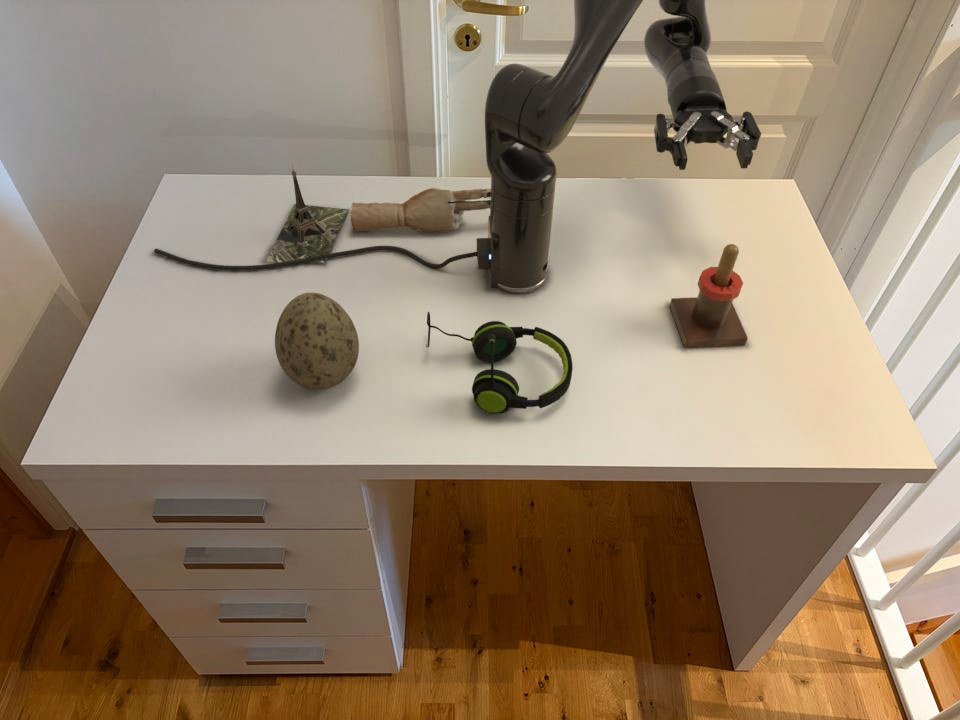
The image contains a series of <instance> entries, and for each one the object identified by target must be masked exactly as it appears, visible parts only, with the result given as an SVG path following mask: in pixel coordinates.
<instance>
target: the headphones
mask: <svg viewBox="0 0 960 720" xmlns="http://www.w3.org/2000/svg"><path fill="white" fill-rule="evenodd" d="M426 314H427V315H426V325H427V327H428V329H427V331H428V332H427V344H425V347H426V348H429V347H430V343H431V328H432V329H436V330H438V331H439V332H440V333H442V334H444V335H446V336H448V337H457V338H460V339H462V340H465V341H468V342H471V345H472V349H473V353H474V355H475V357H476V358H477V359H478V360H479V361H482V362H484V363H490V368H489V369H484V370H481V371H479V372H478V373H477V374H476V375H475V377H474V380H473V383H472V386H471V392H472V396H473V401H474V403H475V404H476V406H477V407H478V408H479V409H480V410H482V411H484V412H486V413H489V414H493V415H494V414H495V415H499V414H500V415H501V414H504V413H506V412H508V411H509V410H510V409H519V410H520V409H523V410H527V408H534V407H539V408H540V409H543V408H546V407H548V406H550V405H552V404H554V403H556V402H558V401H559V400H560V399H561V398H562V397H563V396H565V394H566V393H567V392H568V390H569V388H570V386H571V381H572V377H573V375H572V374H573V367H574V366H573V358H572V353H571V352H570V349H569V347H568V346H567V344H566V343H565V342H564V341H563V339H561V338H560V337H559V336H557V335H555V334H554V333H552V332H550V331H549V330H546V329H544V328H541V327H538V326H535V327H534V328H527V327H523V326H508V325H507V324H506V323H504V322H502V321H499V320H491V321H487V322H485V323H483V324H481V325H480V326H479V327H478V328H477V329H476V330H475V332H474V334H473V336H472V337H470V338H467V337H464V336H462V335H460V334H456V333H447V332H445V331H444V330H443V329H441V328H439V327H438V326H436V325H431V313H430V311H427V313H426ZM524 336H532V339H533V340H536V341H538V342H540V343H543V344H545V345H547V346H548V348H551V349H552V350H553V351H554V352H555V353H556V354H558V357H559V358H560V359H561V364H562V370H563V373H562V377H561V379H560V380H559V382H558V383H556V384H555V385H554V386H553V387H551V388H550V389H549V390H547V391H546V392H544V393H542V394H540V395H538V398H537V399H529V397H527V396H521V395H519V393H520V386H519V383H518V381H517V379H516V377H514V376H513V375H512V374H510V373H509V372H507V371H504V370H501V369H497V368H494V367H495V365H494V364H495V363H496V362H500V361H503V360H505V359H506V358H508V357H510V356H511V355H512V354H513V353H514V351H515V349H516V348H517V344H518V342H517V339H520V338H524Z"/></svg>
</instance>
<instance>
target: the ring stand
mask: <svg viewBox="0 0 960 720" xmlns="http://www.w3.org/2000/svg"><path fill="white" fill-rule="evenodd" d="M739 253H740V249H739V246H738V245H736V244H734V243H729V244H727V245H725V246H724V248H723V250H722V253H721V256H720V260H719V262H718V265H717V267H718V268H717V271H716V274H715V277H714V280H713V281H711V282H712V283H713V284H714V285H715V286H718V287H729V285H728V282H729V279H730V276H731V274H732V271H734V268H735V265H736V262H737V259H738V256H739ZM733 301H734V299H733V300H731V301H717V300H713V299H710V298H708V297H707V296H705V295H704V294H703V293H702V292H700V290H699V291H698V295H697V297H675V298H671V299H670V302H669V308H670V311H671V313H672V317H673V319H674V323H675V325H676V327H677V331H678V334H679V336H680V339H681V342H682V345H683V347H684V348H685V349H689V348H690V349H691V348H713V347H734V346H737V347H738V346H746V344H747V341H748V339H749V338H748V335H747V333H746V330H745V328H744V326H743V323H742V322H741V319H740V317H739V315H738V312H737V310H736V308H735V306H734V304H733Z"/></svg>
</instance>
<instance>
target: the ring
mask: <svg viewBox="0 0 960 720" xmlns="http://www.w3.org/2000/svg"><path fill="white" fill-rule="evenodd" d="M717 268H718V266H709V267H708V268H706V269H703V270H702V271H701V273H700V276H699V277H698V281H697V287H698V289H699V291H700V292H702V293H703V294H704V295H705V296H707V297H708V298H710V299H713V300H717V301H731V300H733V301H734V300H735V299H737V298H738V297H739V296H740V293H741V291H742V288H743V285H744V281H743V280H742V277H741V276H740V275H739V273H737V272H735V270H733V271H732V274H731V276H730V279H729V282H728V285H729V287H718V286H715V285H714V284H713V283H712V282H711V281H713V280H714V277H715V274H716V271H717Z"/></svg>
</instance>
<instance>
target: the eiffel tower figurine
mask: <svg viewBox="0 0 960 720" xmlns="http://www.w3.org/2000/svg"><path fill="white" fill-rule="evenodd" d="M291 168H292V171H291V176H292V180H293V186H294V188H293V189H294V195H295V203H294V204H293V206H292V208H291V210H290V213H289V214H288V216H287V218H286V220H285V222H284V224H283V226H282V227H281V230H280V232H279V234H278V235H277V238H276V239H275V242H274V244H273V246H272V248H271V250H270V251H269V252H270V253H269V254H268V256H267V258H266V260H265V262H266V263H267V262H268V263H279V262H286V261H293V260H299V259H305V258H310V257H316V256H320V255H325V254H331V252H332V249H333V247H334V245H335V242H336V239H337V237H338V234H339V232H340V231H341V228H342V225H343V223H344V222H345V219H346V217H347V215H348V213H349V211H350V209H349V208H340V207H329V206H318V205H310V204H306V203H305V201H304V198H303V195H302V192H301V187H300V184H299V181H298V178H297V175H298V174H297V172H296V171H295V170H294V165H293V164H292V165H291ZM327 258H328V257H326V258H322V259H318V260H314V261H310V262H309V263H320V264H321V263H322V264H326V263H327V260H328V259H329V258H328V259H327Z"/></svg>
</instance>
